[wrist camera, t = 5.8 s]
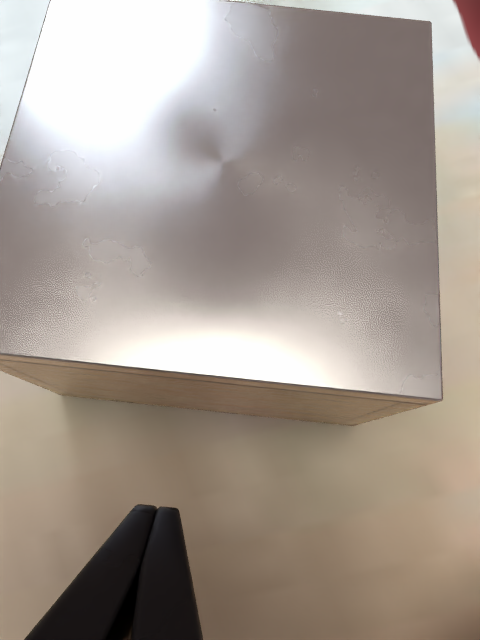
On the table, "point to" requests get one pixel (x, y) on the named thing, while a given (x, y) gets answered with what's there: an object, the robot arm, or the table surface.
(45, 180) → the lid
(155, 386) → the tin
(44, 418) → the table surface
